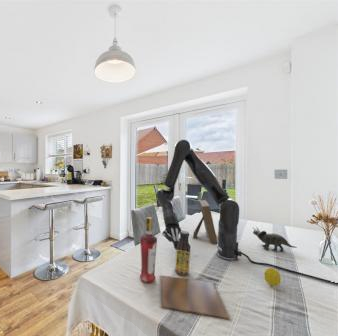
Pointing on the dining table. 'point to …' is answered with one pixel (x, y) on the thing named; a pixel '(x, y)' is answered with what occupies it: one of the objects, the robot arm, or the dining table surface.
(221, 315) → the wooden board
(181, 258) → the sauce bottle
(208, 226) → the photo frame
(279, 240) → the toy dinosaur
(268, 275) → the lemon
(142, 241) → the liquor
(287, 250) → the dining table surface
